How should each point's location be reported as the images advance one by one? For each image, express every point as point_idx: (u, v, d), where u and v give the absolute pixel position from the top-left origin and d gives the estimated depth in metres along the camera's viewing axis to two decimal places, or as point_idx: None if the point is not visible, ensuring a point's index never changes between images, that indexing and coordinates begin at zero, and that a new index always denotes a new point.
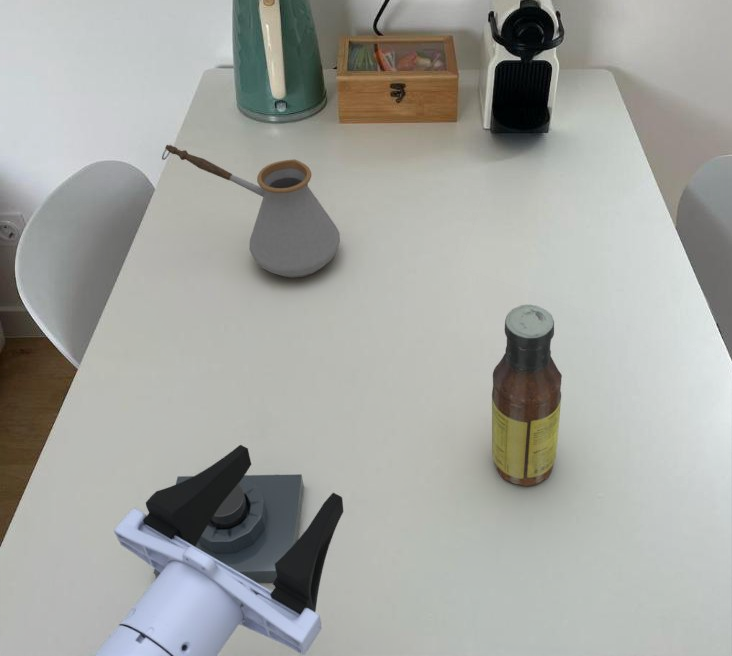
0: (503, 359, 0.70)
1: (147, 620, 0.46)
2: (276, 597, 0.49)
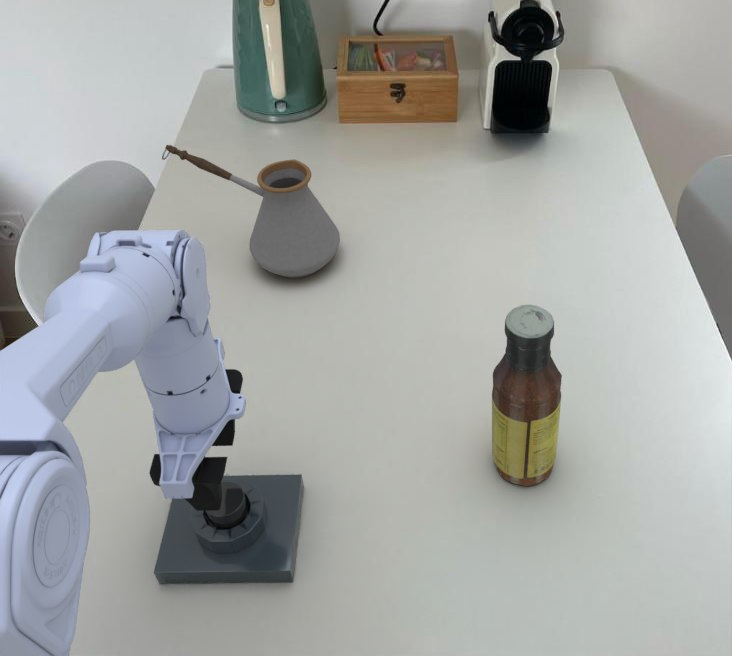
0: (503, 359, 0.70)
1: (220, 365, 0.61)
2: None
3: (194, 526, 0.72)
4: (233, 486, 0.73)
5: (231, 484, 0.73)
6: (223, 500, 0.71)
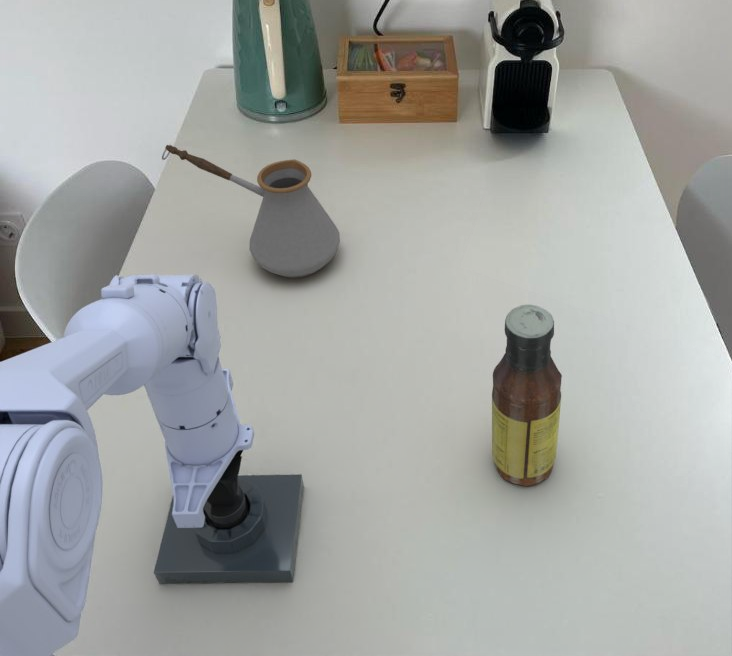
0: (503, 359, 0.70)
1: (229, 399, 0.63)
2: None
3: None
4: None
5: None
6: None
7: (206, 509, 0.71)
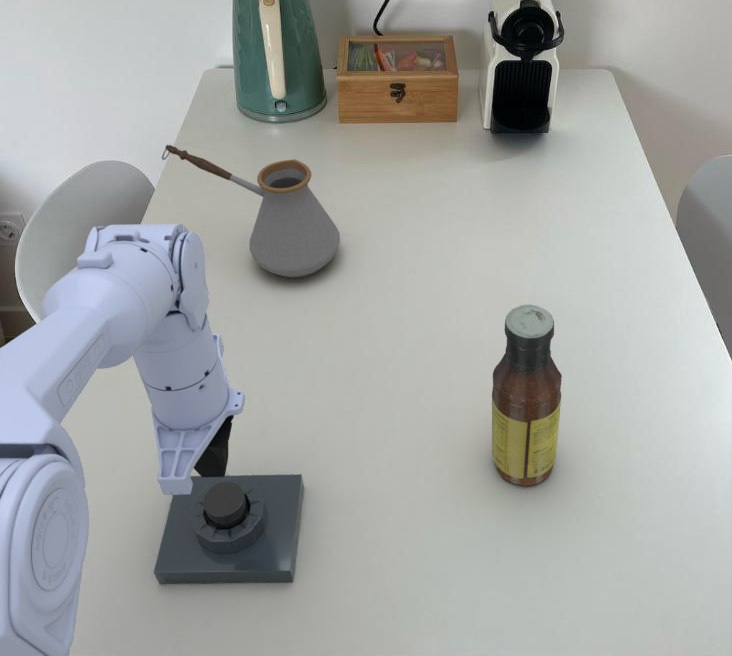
0: (503, 359, 0.70)
1: (219, 361, 0.60)
2: None
3: (194, 526, 0.72)
4: (233, 486, 0.73)
5: (231, 484, 0.73)
6: (223, 500, 0.71)
7: (206, 508, 0.71)
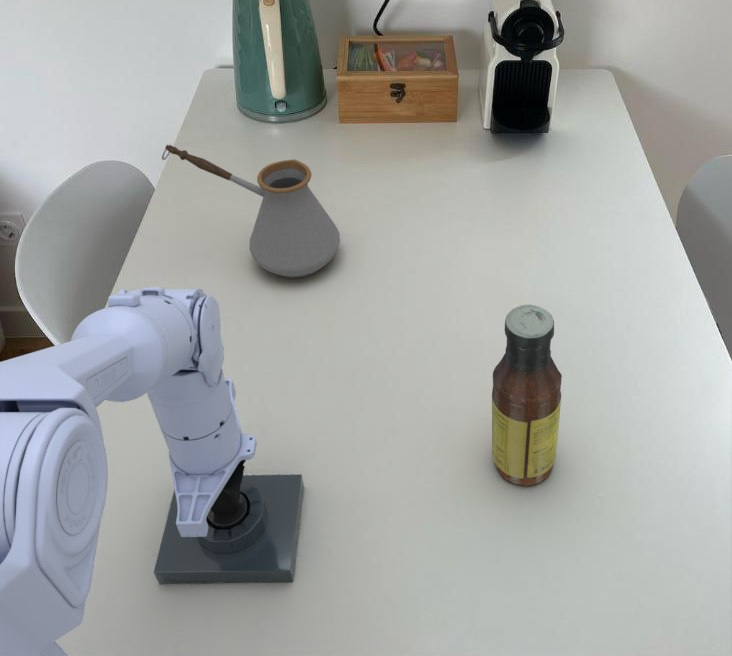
0: (503, 359, 0.70)
1: (232, 410, 0.64)
2: None
3: None
4: None
5: None
6: None
7: (209, 517, 0.72)
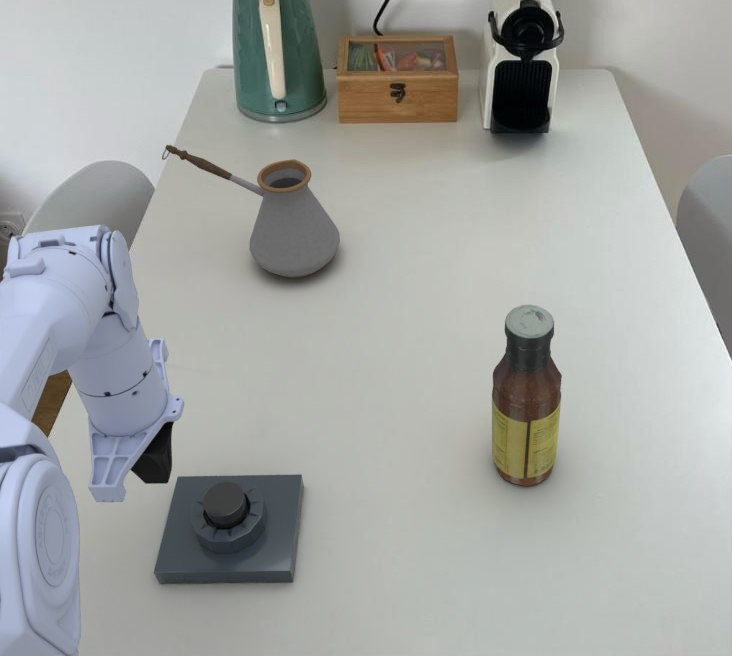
0: (503, 359, 0.70)
1: (154, 367, 0.59)
2: None
3: (194, 526, 0.72)
4: (233, 486, 0.73)
5: (231, 484, 0.73)
6: (223, 500, 0.71)
7: (206, 508, 0.71)
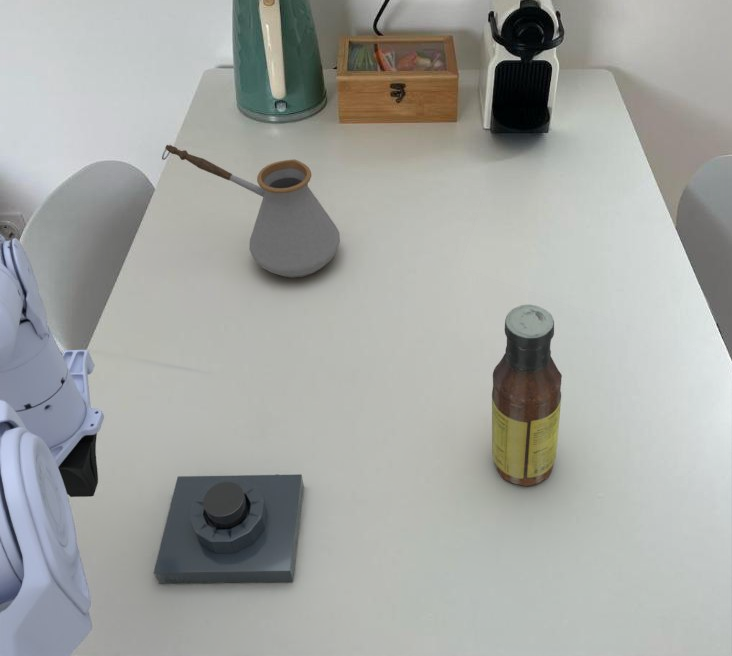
0: (503, 359, 0.70)
1: (70, 380, 0.59)
2: None
3: (194, 526, 0.72)
4: (233, 486, 0.73)
5: (231, 484, 0.73)
6: (223, 500, 0.71)
7: (206, 508, 0.71)
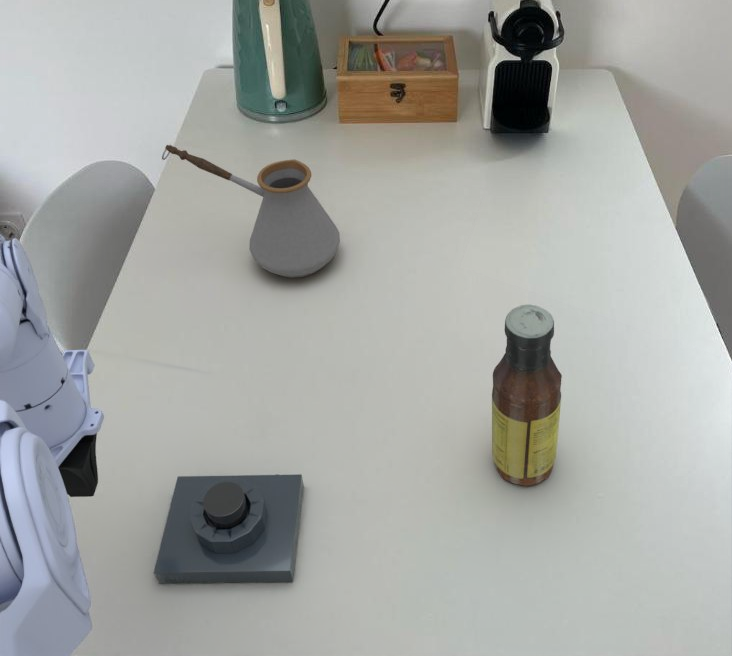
0: (503, 359, 0.70)
1: (70, 380, 0.59)
2: None
3: (194, 526, 0.72)
4: (233, 486, 0.73)
5: (231, 484, 0.73)
6: (223, 500, 0.71)
7: (206, 508, 0.71)
